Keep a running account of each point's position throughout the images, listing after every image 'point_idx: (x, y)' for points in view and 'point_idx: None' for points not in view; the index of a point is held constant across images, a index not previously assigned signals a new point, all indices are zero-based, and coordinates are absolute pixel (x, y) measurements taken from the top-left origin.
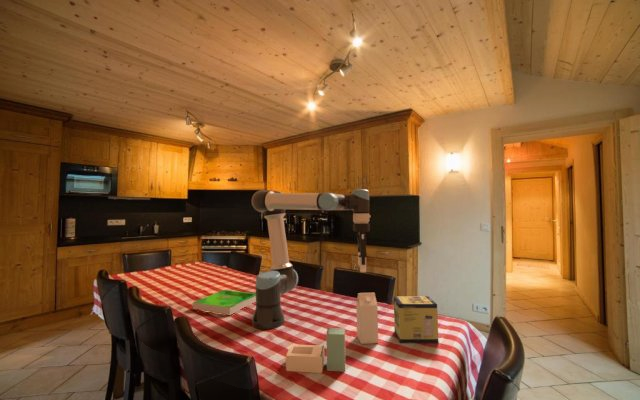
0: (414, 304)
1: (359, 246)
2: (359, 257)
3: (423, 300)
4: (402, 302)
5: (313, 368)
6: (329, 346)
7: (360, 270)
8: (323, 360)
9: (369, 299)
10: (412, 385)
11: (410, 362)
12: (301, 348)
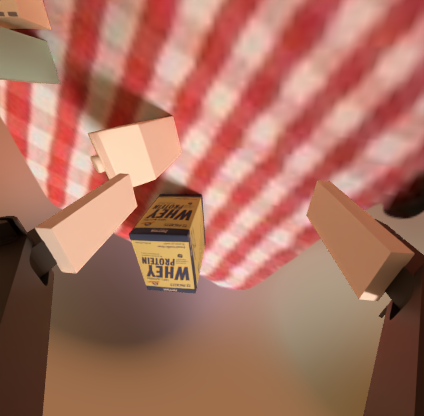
0: (138, 258)
1: (404, 366)
2: (347, 225)
3: (162, 278)
4: (139, 242)
5: None
6: None
7: (113, 178)
8: (26, 26)
9: (96, 168)
10: (52, 181)
11: None
12: None
